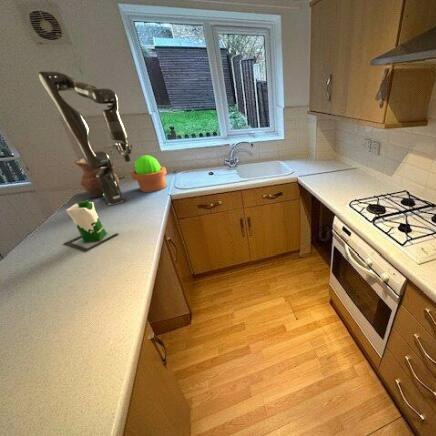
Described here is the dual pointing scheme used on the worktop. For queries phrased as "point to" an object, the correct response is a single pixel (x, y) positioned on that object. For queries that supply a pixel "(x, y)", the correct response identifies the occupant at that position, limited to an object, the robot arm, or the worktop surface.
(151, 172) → the potted cactus
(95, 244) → the dark flat u-shaped piece
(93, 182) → the jug
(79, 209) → the soya milk
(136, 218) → the worktop surface
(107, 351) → the worktop surface
